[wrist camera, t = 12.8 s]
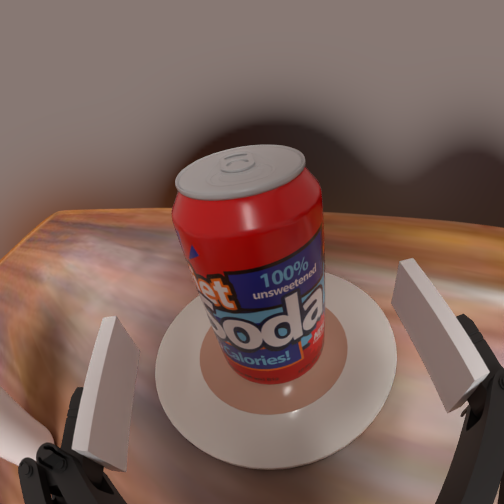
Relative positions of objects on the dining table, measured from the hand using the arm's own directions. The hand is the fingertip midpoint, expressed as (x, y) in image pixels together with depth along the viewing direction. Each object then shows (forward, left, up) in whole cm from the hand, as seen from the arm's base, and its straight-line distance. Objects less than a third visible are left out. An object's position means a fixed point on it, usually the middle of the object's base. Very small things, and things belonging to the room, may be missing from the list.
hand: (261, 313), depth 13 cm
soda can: (+1, -5, -10) cm, 11 cm away
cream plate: (+1, -5, -11) cm, 12 cm away
